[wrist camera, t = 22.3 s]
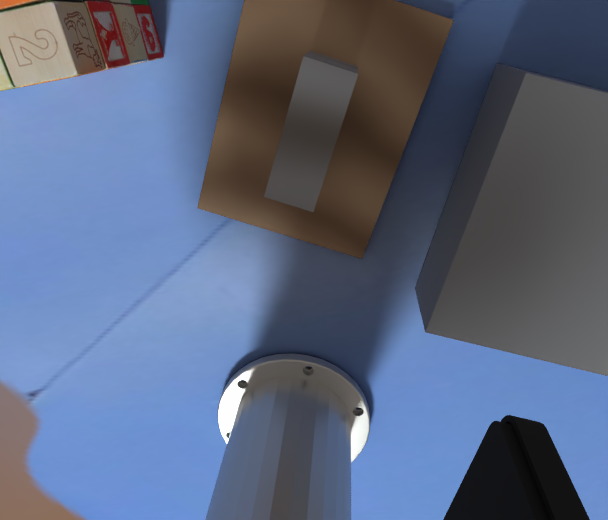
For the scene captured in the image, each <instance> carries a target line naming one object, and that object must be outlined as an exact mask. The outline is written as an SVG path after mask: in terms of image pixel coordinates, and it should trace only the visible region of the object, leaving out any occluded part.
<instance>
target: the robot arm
mask: <svg viewBox="0 0 608 520" xmlns="http://www.w3.org/2000/svg"><path fill="white" fill-rule="evenodd" d="M218 424H219V427H220V431H221V434H222V436H223V438H224V440H225V442H226V444H227V446H226V449H225V453H224V456H223V460H222V463H221V467H220V470H219V474H218V477H217V481H216V484H215V488H214V491H213V495H212V498H211V502H210V505H209V509H208V512H207V516H206V519H205V520H351V462H352V461H354V460H355V459H356V457H357V456H358V455H359V454H360V453H361V451H362V450H363V448H364V446H365V444H366V442H367V440H368V435H369V431H370V414H369V407H368V403H367V401H366V398H365V395H364V393H363V392H362V390H361V389H360V387H359V386H358V384H357V383H356V382H355V381H354V380H353V379H352V378H351V377H350V376H349V375H348V374H347V373H346V372H344V371H343V370H341V369H340V368H338V367H337V366H336V365H333V364H331V363H329V362H327V361H325V360H323V359H319V358H316V357H312V356H309V355H302V354H293V353H291V354H276V355H271V356H266V357H262V358H260V359H258V360H255V361H253V362H250V363H249V364H247V365H246V366H244V367H243V368H241V369H240V370H238V371H237V372H236V373H235V374H234V375H233V376H232V377H231V378H230V380H229V382H228V383H227V385H226V386H225V388H224V391H223V393H222V396H221V399H220V402H219V407H218ZM443 520H590V519H589V517H588V515H587V513H586V511H585V509H584V507H583V505H582V502H581V500H580V498H579V496H578V494H577V492H576V490H575V488H574V486H573V483H572V481H571V479H570V477H569V475H568V473H567V471H566V469H565V467H564V464H563V462H562V460H561V458H560V456H559V454H558V452H557V450H556V448H555V445H554V443H553V441H552V439H551V437H550V435H549V433H548V431H547V429H546V427H545V426H544V424H542V423H540V422H536V421H532V420H528V419H524V418H519V417H515V416H511V415H507V416H505V417H504V418H503V419H502V420H501V422H499V421H494V422H492V423H491V425H490V426H489V428H488V430H487V432H486V434H485V436H484V438H483V440H482V442H481V444H480V446H479V449H478V451H477V453H476V455H475V457H474V459H473V461H472V463H471V465H470V467H469V469H468V471H467V473H466V475H465V477H464V479H463V481H462V483H461V485H460V487H459V489H458V491H457V493H456V495H455V497H454V499H453V501H452V503H451V505H450V507H449V509H448V511H447V513H446V515H445V517H444V519H443Z"/></svg>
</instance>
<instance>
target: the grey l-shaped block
mask: <svg viewBox="0 0 608 520" xmlns="http://www.w3.org/2000/svg"><path fill="white" fill-rule="evenodd" d="M415 290H416V295H417V299H418V303H419V307H420V312H421V316H422V320H423V324H424V328H425V332H427V333H431V334H435V335H439V336H443V337H448V338H452V339H456V340H460V341H464V342H468V343H473V344H477V345H481V346H485V347H489V348H493V349H497V350H502V351H506V352H510V353H514V354H518V355H522V356H527V357H531V358H535V359H539V360H543V361H547V362H551V363H556V364H560V365H564V366H568V367H572V368H576V369H581V370H585V371H589V372H593V373H597V374H601V375H605V376H607V375H608V91H605V90H601V89H597V88H593V87H589V86H585V85H581V84H577V83H574V82H570V81H566V80H562V79H558V78H554V77H550V76H546V75H542V74H538V73H534V72H530V71H526V70H522V69H518V68H514V67H511V66H507V65H503V64H499V63H497V64H496V66H495V69H494V72H493V75H492V77H491V80H490V83H489V86H488V88H487V91H486V94H485V97H484V100H483V102H482V105H481V108H480V111H479V113H478V116H477V119H476V122H475V124H474V127H473V130H472V133H471V135H470V138H469V141H468V144H467V146H466V149H465V152H464V155H463V157H462V160H461V163H460V166H459V168H458V171H457V174H456V177H455V179H454V182H453V185H452V188H451V190H450V193H449V196H448V199H447V201H446V204H445V207H444V210H443V213H442V215H441V218H440V221H439V224H438V226H437V229H436V232H435V235H434V237H433V240H432V243H431V246H430V248H429V251H428V254H427V257H426V259H425V262H424V265H423V268H422V270H421V273H420V276H419V279H418V281H417V284H416V287H415Z"/></svg>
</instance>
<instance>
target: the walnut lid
mask: <svg viewBox="0 0 608 520" xmlns="http://www.w3.org/2000/svg"><path fill="white" fill-rule="evenodd" d="M453 21H454V20H452V19H449V18H446V17H443V16H440V15H437V14H434V13H431V12H428V11H425V10H422V9H419V8H416V7H413V6H410V5H407V4H404V3H401V2H398V1H396V0H244V4H243V8H242V13H241V17H240V22H239V26H238V30H237V35H236V39H235V44H234V48H233V53H232V57H231V61H230V66H229V70H228V75H227V79H226V84H225V88H224V92H223V97H222V101H221V106H220V110H219V115H218V119H217V123H216V128H215V132H214V137H213V141H212V146H211V150H210V154H209V159H208V163H207V168H206V172H205V177H204V181H203V186H202V190H201V194H200V199H199V203H198V208H199V209H202V210H205V211H209V212H212V213H215V214H218V215H222V216H225V217H228V218H231V219H235V220H238V221H241V222H244V223H248V224H251V225H254V226H257V227H260V228H264V229H267V230H270V231H273V232H277V233H280V234H283V235H286V236H290V237H293V238H296V239H299V240H303V241H306V242H309V243H312V244H316V245H319V246H322V247H325V248H328V249H332V250H335V251H338V252H341V253H345V254H348V255H351V256H354V257H358V258H361V259H362V258H363V255H364V253H365V250H366V247H367V245H368V242H369V240H370V237H371V234H372V232H373V229H374V227H375V224H376V221H377V219H378V216H379V214H380V211H381V208H382V206H383V203H384V201H385V198H386V195H387V193H388V190H389V188H390V185H391V182H392V180H393V177H394V175H395V172H396V169H397V167H398V164H399V162H400V159H401V156H402V154H403V151H404V149H405V146H406V143H407V141H408V138H409V136H410V133H411V130H412V128H413V125H414V123H415V120H416V117H417V115H418V112H419V110H420V107H421V104H422V102H423V99H424V97H425V94H426V91H427V89H428V86H429V84H430V81H431V78H432V76H433V73H434V71H435V68H436V65H437V63H438V60H439V58H440V55H441V52H442V50H443V47H444V45H445V42H446V39H447V37H448V34H449V32H450V29H451V26H452V24H453Z"/></svg>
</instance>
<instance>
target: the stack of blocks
mask: <svg viewBox="0 0 608 520" xmlns="http://www.w3.org/2000/svg"><path fill="white" fill-rule="evenodd" d="M161 58H163V52H162V48H161V45H160V41H159V37H158V33H157V30H156V26H155V23H154V19H153V15H152V12H151V8H150V6H149V3H148V0H0V91H4V90H9V89H14V88H19V87H25V86H30V85H35V84H40V83H45V82H50V81H56V80H61V79H66V78H71V77H76V76H80V75H85V74H89V73H94V72H98V71H103V70H108V69H112V68H117V67H122V66H128V65H133V64H138V63H143V62H147V61H151V60H156V59H161Z"/></svg>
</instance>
